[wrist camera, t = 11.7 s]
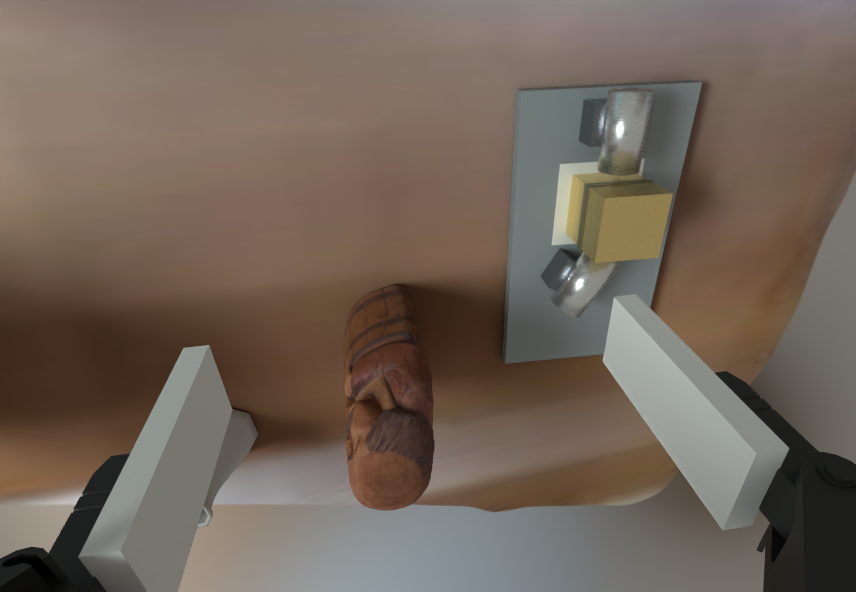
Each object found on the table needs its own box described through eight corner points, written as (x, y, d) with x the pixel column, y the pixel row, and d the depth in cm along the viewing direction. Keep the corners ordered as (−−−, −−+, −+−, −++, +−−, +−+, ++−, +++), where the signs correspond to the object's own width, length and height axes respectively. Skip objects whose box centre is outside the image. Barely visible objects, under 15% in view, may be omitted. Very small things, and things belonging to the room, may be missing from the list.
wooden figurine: (346, 278, 42) (335, 426, 27) (418, 280, 43) (448, 424, 28) (346, 383, 48) (337, 556, 32) (409, 383, 49) (430, 550, 33)
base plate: (517, 89, 36) (521, 91, 35) (693, 80, 37) (703, 82, 36) (502, 356, 48) (505, 364, 47) (634, 343, 50) (640, 351, 49)
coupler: (564, 233, 41) (594, 263, 36) (571, 174, 38) (604, 197, 33) (622, 229, 41) (658, 258, 36) (632, 170, 39) (673, 192, 34)
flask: (259, 405, 48) (236, 489, 39) (258, 456, 51) (237, 543, 43) (181, 401, 47) (140, 487, 38) (186, 454, 50) (149, 543, 41)
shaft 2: (570, 231, 41) (590, 251, 37) (609, 251, 43) (632, 272, 39) (535, 283, 43) (550, 307, 40) (573, 300, 45) (591, 325, 41)
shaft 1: (628, 159, 39) (656, 173, 35) (575, 162, 38) (598, 177, 35) (641, 85, 36) (672, 92, 32) (584, 88, 35) (610, 95, 32)
